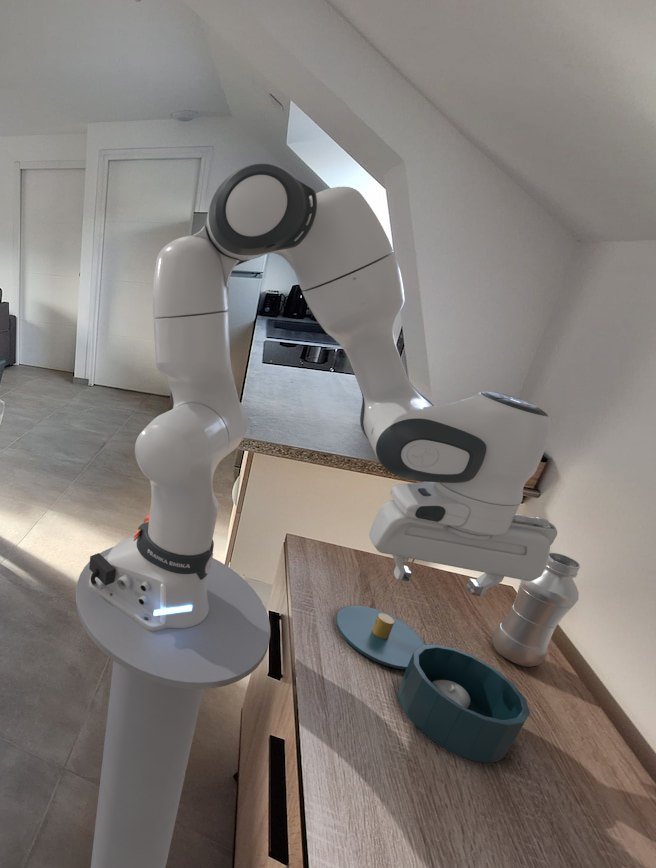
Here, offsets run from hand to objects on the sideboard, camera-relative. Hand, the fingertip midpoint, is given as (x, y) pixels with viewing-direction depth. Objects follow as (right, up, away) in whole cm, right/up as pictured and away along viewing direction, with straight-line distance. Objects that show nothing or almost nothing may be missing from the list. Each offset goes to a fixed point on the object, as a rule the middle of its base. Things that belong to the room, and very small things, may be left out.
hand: (436, 585), depth 68 cm
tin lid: (-1, -13, +11) cm, 17 cm away
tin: (0, -19, -2) cm, 19 cm away
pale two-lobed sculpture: (-1, -18, -2) cm, 18 cm away
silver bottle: (+20, -15, +9) cm, 27 cm away
